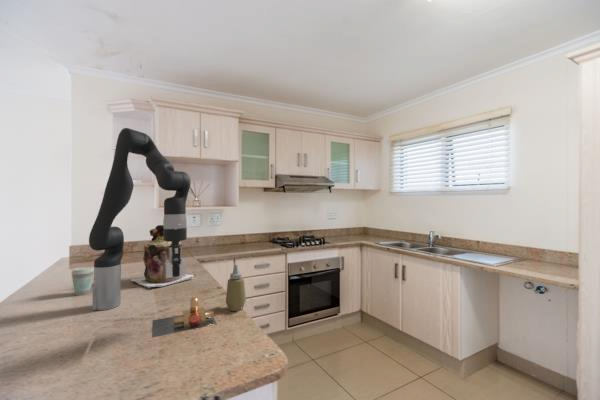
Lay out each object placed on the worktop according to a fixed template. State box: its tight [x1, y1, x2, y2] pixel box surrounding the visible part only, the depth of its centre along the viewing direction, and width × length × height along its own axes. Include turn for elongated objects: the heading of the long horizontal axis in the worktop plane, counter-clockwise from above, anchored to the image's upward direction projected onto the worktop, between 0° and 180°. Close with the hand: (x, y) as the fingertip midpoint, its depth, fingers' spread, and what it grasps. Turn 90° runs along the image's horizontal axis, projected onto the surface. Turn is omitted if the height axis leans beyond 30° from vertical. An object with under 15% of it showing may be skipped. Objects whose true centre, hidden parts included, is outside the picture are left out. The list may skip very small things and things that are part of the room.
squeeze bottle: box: [225, 264, 247, 312], centre depth 111 cm, size 8×8×18 cm
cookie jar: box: [130, 224, 195, 289], centre depth 152 cm, size 25×25×32 cm
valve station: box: [151, 296, 218, 338], centre depth 97 cm, size 20×14×10 cm
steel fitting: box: [166, 258, 186, 278], centre depth 96 cm, size 6×6×5 cm
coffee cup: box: [71, 266, 94, 297], centre depth 130 cm, size 9×9×12 cm
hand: (175, 274), depth 96 cm, fingers closed on steel fitting, 6 cm apart
